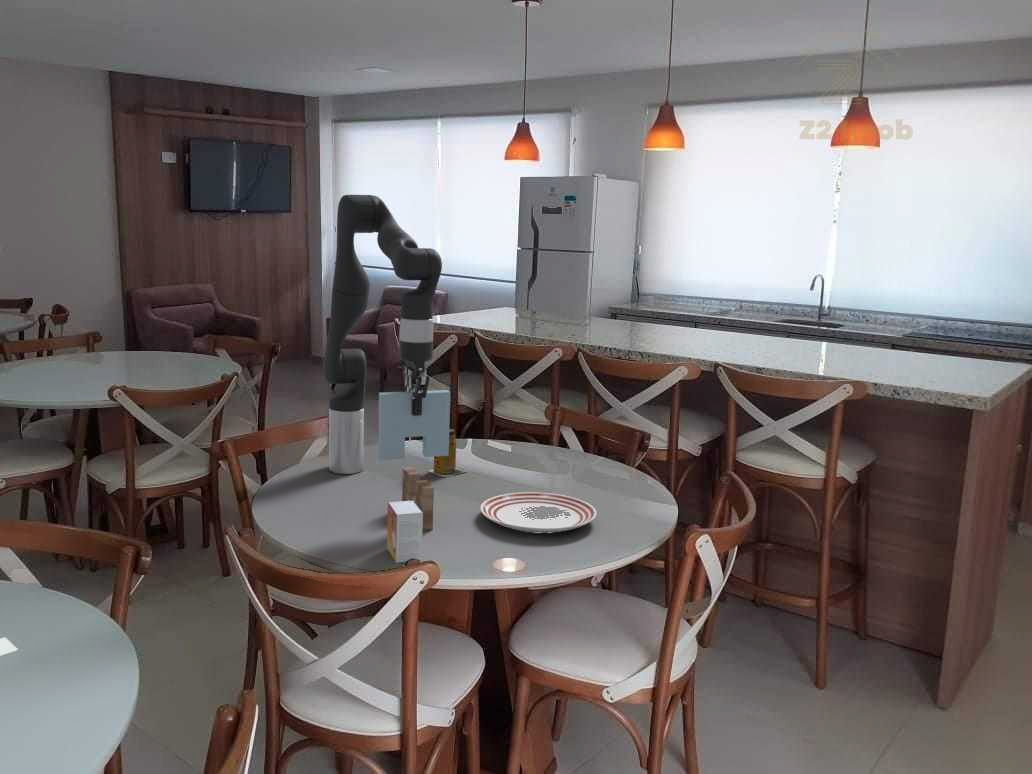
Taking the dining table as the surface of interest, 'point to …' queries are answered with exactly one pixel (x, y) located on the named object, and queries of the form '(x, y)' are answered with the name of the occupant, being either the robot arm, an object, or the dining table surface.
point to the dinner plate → (509, 505)
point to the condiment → (447, 460)
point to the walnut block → (419, 495)
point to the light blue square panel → (413, 423)
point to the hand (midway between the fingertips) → (414, 413)
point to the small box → (404, 531)
